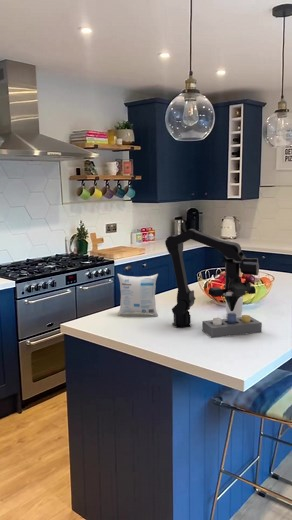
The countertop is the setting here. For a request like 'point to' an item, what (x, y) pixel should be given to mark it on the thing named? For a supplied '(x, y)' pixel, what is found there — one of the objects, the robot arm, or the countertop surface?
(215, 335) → the key block
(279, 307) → the countertop surface
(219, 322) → the white key
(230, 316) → the navy key
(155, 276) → the pouch
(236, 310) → the white cup
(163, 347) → the countertop surface
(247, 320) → the ochre key
